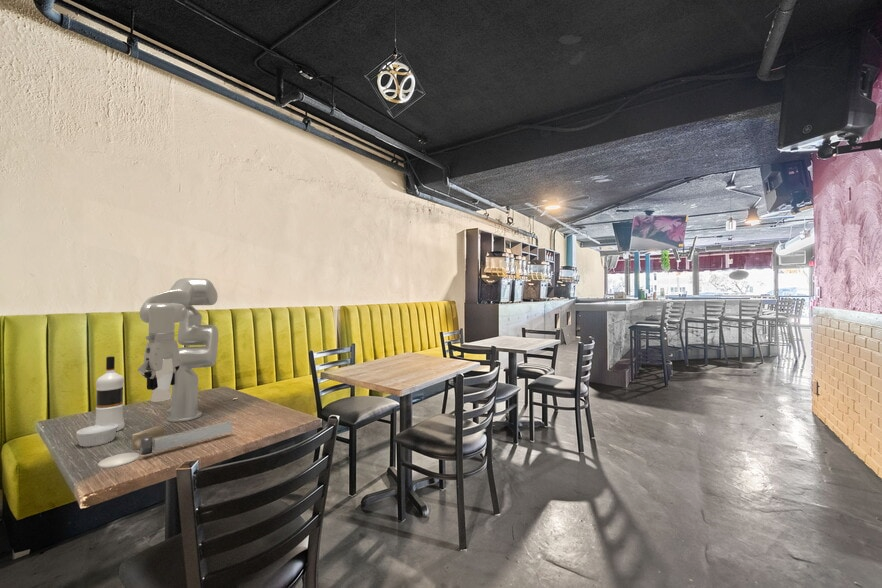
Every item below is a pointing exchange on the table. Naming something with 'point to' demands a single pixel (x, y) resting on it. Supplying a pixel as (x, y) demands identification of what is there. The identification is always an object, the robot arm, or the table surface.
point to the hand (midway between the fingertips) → (161, 386)
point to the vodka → (110, 396)
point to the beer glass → (163, 382)
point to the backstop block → (147, 435)
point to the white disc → (118, 460)
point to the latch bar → (184, 437)
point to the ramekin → (96, 434)
